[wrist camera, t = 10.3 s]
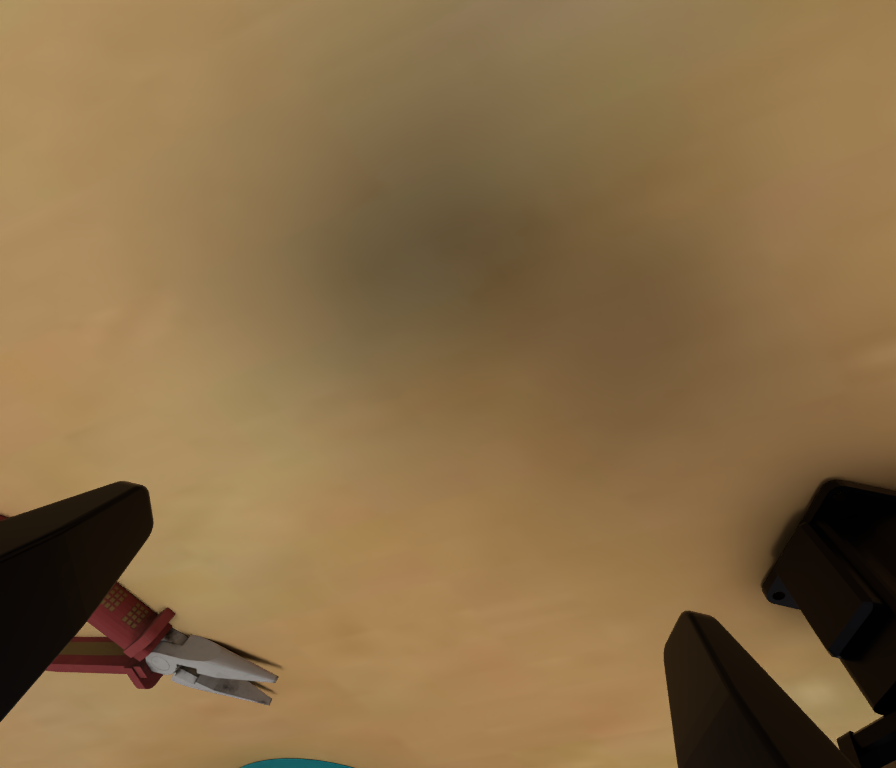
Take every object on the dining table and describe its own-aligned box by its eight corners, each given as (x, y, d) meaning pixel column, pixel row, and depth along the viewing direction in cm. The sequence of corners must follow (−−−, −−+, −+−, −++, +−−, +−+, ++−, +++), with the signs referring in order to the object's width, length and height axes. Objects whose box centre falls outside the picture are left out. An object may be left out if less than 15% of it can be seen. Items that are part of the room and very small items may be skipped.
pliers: (270, 720, 32) (249, 762, 30) (7, 618, 32) (-34, 652, 30) (299, 616, 28) (278, 656, 25) (-10, 498, 28) (-60, 527, 25)
